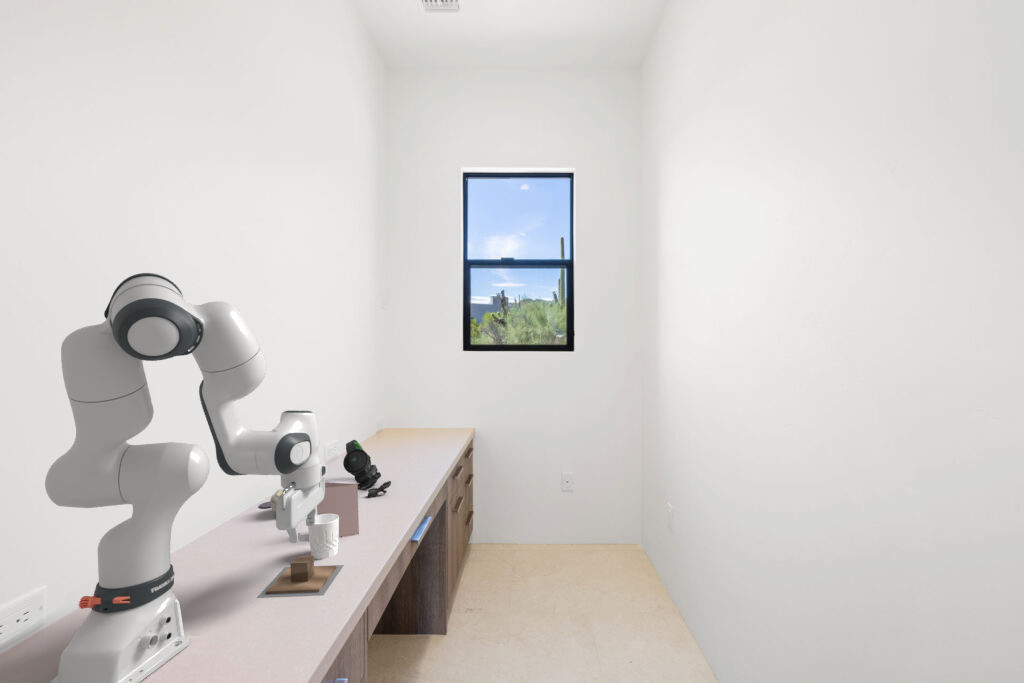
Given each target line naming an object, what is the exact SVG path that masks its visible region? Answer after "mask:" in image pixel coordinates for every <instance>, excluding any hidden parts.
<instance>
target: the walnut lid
mask: <svg viewBox="0 0 1024 683" xmlns="http://www.w3.org/2000/svg"><path fill="white" fill-rule="evenodd" d="M289 564H290V565H289V566H287V567H288V568H287V569H286V570H285V571H284V573H283V574H282V575H281V576H280V577H279V578H278V579H277V580H276V581H275V582H274V583H273V585H272V586H271V587H270V588H269V589H268V590H267V591H266V594H281V593H306V592H319V591H320V590H321V589H322V587H323V586H324V584H325V583H326V582H327V580H328V579H329V577H330V576H331V575H332V573H333V572H334V570H335V569H336V566H331V565H315V559H314V555H311V554H310V555H297V556H296V557H295V558H293V560H291V562H290V563H289Z"/></svg>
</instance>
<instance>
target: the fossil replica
mask: <svg viewBox="0 0 1024 683" xmlns="http://www.w3.org/2000/svg"><path fill="white" fill-rule="evenodd" d="M283 489H284V488H281V489H280V488H279V490H277V491H276V492H275V493H274V494H273V495H272V496H271V498H270V500H269V503H270V504H269V505H270V509H271V510H273V511H275V512H276V507H277V500H278V498H279V496H280V495H281V494H282V493H283Z"/></svg>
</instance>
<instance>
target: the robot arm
mask: <svg viewBox="0 0 1024 683" xmlns="http://www.w3.org/2000/svg"><path fill="white" fill-rule="evenodd" d="M103 314H104V317H105V321H103V322H101V323H99V324H93V325H88V326H83V327H80V328H79V329H76V330H74V331H72V332H71V333H69V334H67V336H65V338H64V339H63V341H62V343H61V349H60V352H61V353H60V356H61V358H60V360H61V370H62V377H63V382H64V387H65V391H66V395H67V397H68V400H69V403H70V407H71V412H72V416H73V420H74V425H75V439H74V441H73V444H72V445H71V447H70V448H69V449H68V450H67V451H66V452H65V453H63V454H62V455H61V456H59V457H58V458H57V459H56V460H55V461H54V462H53V463H52V465H51V466H50V468H48V471H47V472H46V476H45V481H44V487H45V493H46V494H47V496H48V498H49V499H50V501H52V502H53V504H55V505H56V506H59V507H65V508H76V509H77V508H78V509H93V508H103V507H112V506H121V505H131V506H132V514H131V517H130V518H127V519H125V520H124V521H122V522H121V523H118V524H117V525H115V526H114V527H112V528H110V529H109V530H108V531H107V532H106V533H104V535H103V536H102V537H101V538H100V540H99V543H98V546H97V567H98V568H97V570H98V571H97V573H98V581H97V583H96V585H95V588H94V591H93V595H92V596H90V595H84V596H82V597H81V598H80V599H79V601H78V608H79V609H87V608H89V609H91V610H90V611H89V614H88V615H87V616H86V617H85V619H84V620H83V622H82V624H81V625H80V626H79V627H78V629H77V631H76V632H75V633H74V635H73V637H72V638H71V639H70V641H69V642H68V644H67V645H66V647H65V648H64V650H63V651H62V652H61V654H60V657H59V662H58V669H57V670H58V671H57V675H56V676H55V677H54V678H53V679H52V680H51V681H50V682H49V683H141V682H142V681H144V679H146V678H147V677H148V676H150V675H152V673H154V672H155V671H157V670H158V669H159V668H160V667H161V666H163V665H164V664H165V663H167V662H168V661H170V660H171V659H172V658H174V657H175V656H176V655H177V654H179V653H180V652H182V651H183V650H184V649H185V648H187V647H188V646H189V645H190V643H191V642H190V637H189V636H188V635H186V634H185V632H184V625H183V624H184V623H183V618H182V610H181V606H180V601H179V600H178V598H177V597H176V593H175V592H174V590H173V586H174V584H175V571H174V566H173V564H172V563H171V537H172V530H173V523H174V521H175V519H176V516H177V514H179V511H180V509H181V508H182V507H183V506H184V504H186V502H187V501H189V499H190V498H192V496H193V495H195V494H196V493H197V492H199V491H200V489H201V488H203V487H204V484H205V483H206V482H207V479H208V477H209V474H210V469H211V468H210V467H211V466H210V459H209V457H208V454H207V453H206V452H205V450H204V449H203V448H202V447H201V446H200V445H198V444H194V443H193V444H192V443H185V442H184V443H183V442H174V441H173V442H172V441H171V442H157V443H145V444H129V443H128V442H127V441H128V440H131V439H132V438H134V437H136V436H138V435H139V434H140V433H142V432H143V431H144V430H145V429H147V427H149V425H150V424H151V422H152V420H153V418H154V414H155V413H154V412H155V411H154V406H153V402H152V398H151V394H150V389H149V386H148V381H147V376H146V373H145V368H144V363H143V362H144V361H147V362H148V361H149V362H155V361H156V362H157V361H163V360H167V359H173V358H174V357H181V356H188V355H190V354H191V355H192V356H193V359H195V360H194V361H195V362H196V364H197V366H198V368H199V369H200V372H201V374H202V378H203V379H202V380H201V381H200V384H199V389H198V395H199V400H200V404H201V408H202V410H203V413H204V416H205V419H206V422H207V425H208V428H209V430H210V434H211V436H212V439H213V442H214V443H213V444H214V446H215V448H214V449H215V456H216V462H217V464H218V466H219V468H220V469H221V471H222V472H224V473H225V474H226V475H228V476H233V477H235V476H246V475H251V476H252V475H254V476H257V475H258V476H280V486H281V489H283V493H282V494H281V495H280V496H279V498H278V500H277V507H276V511H275V525H276V526H275V527H276V528H277V530H278V531H286V534H288V536H289V543H290V544H296V543H298V542H299V541H300V540H301V538H300V536H301V534H300V532H298V531H299V530H298V528H299V524H300V523H301V522H302V521H303V520H304V519H305V518H306V519H305V525H306V527H308V526H313V525H314V524H315V516H317V505H318V504H319V503H320V502H321V501H322V500H323V499H324V495H325V482H326V476H325V475H326V474H327V465H325V464H321V458H320V457H319V448H320V434H319V433H320V432H319V427H318V426H319V425H318V421H317V420H318V419H317V416H316V414H315V413H314V412H313V411H311V410H295V409H294V410H289V409H288V410H284V411H283V412H281V414H280V419H279V423H278V424H277V426H275V428H273V429H272V430H252V429H249V428H246V427H244V426H243V425H242V424H241V421H240V419H239V414H238V411H237V407H236V405H235V402H237V401H238V400H241V399H243V398H245V397H246V396H248V395H250V394H251V393H253V392H254V391H256V389H257V388H258V387H259V386H260V385H261V384H262V382H263V381H264V379H265V377H266V373H267V362H266V358H265V356H264V354H263V351H262V349H261V347H260V345H259V342H258V341H257V338H256V336H255V334H254V332H253V330H252V329H251V327H250V325H249V323H248V321H246V319H245V318H244V317H243V315H242V314H241V313H240V311H239V309H237V307H236V306H234V305H232V303H229V302H225V301H210V302H205V303H202V304H193V303H190V302H189V303H188V302H187V301H186V300H185V298H184V295H183V293H182V290H181V289H180V288H179V287H178V286H177V284H175V283H174V282H173V281H172V280H170V279H169V278H167V277H165V276H162V275H160V274H158V273H152V272H141V273H137V274H136V273H135V274H133V275H130V276H128V277H127V278H125V279H123V281H122V282H120V283H119V284H118V286H116V288H115V289H114V291H113V293H112V295H111V297H110V299H109V302H108V304H107V306H106V308H105V310H104V312H103Z"/></svg>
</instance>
